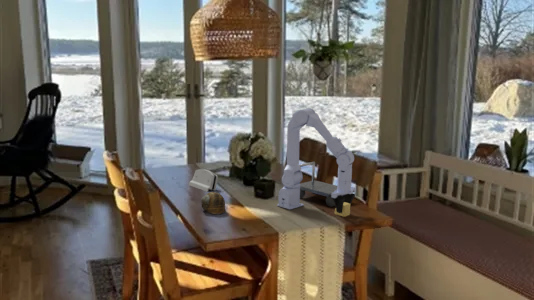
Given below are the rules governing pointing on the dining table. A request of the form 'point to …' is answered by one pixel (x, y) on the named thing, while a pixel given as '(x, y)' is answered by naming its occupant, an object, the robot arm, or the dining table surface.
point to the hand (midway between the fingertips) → (342, 211)
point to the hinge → (204, 180)
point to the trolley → (318, 187)
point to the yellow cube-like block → (344, 210)
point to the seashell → (213, 203)
